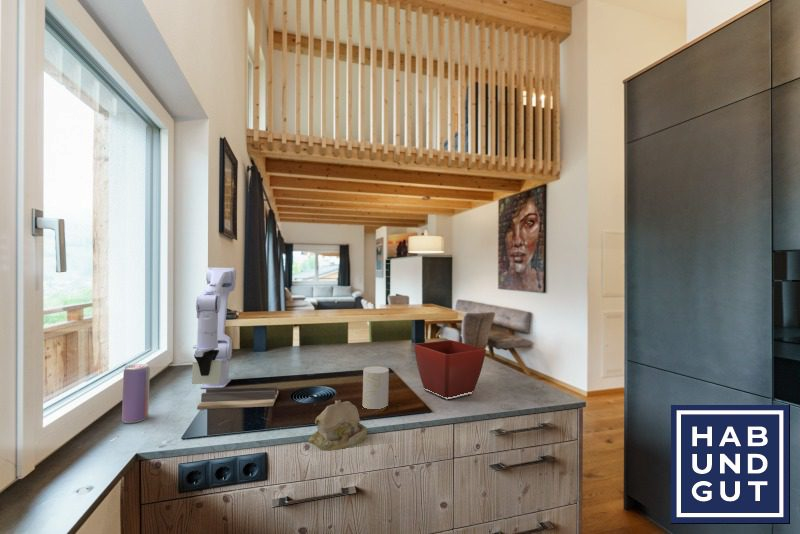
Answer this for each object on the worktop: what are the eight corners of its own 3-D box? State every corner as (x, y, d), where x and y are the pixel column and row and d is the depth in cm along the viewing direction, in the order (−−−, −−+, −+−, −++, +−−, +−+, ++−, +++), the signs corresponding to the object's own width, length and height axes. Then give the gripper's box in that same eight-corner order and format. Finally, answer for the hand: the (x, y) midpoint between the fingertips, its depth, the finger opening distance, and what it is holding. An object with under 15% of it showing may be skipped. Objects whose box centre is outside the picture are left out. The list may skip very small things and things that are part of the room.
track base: (210, 395, 121) (210, 385, 121) (278, 393, 125) (278, 383, 125) (197, 409, 109) (197, 397, 109) (272, 406, 113) (273, 394, 113)
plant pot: (486, 396, 127) (487, 348, 128) (446, 406, 117) (447, 354, 117) (450, 381, 143) (451, 339, 144) (411, 389, 132) (412, 344, 133)
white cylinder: (357, 407, 114) (358, 369, 114) (375, 401, 120) (376, 365, 120) (374, 414, 108) (375, 374, 109) (393, 407, 114) (394, 369, 114)
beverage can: (134, 425, 97) (136, 369, 97) (116, 422, 98) (118, 367, 99) (153, 416, 103) (155, 364, 103) (136, 414, 104) (138, 362, 104)
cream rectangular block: (194, 382, 115) (194, 360, 116) (220, 381, 117) (221, 360, 117) (191, 384, 114) (192, 361, 114) (218, 383, 115) (219, 361, 115)
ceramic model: (319, 456, 84) (320, 412, 84) (303, 437, 93) (305, 398, 93) (372, 441, 91) (373, 402, 91) (353, 425, 101) (354, 389, 101)
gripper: (202, 328, 122) (201, 368, 122) (184, 336, 108) (183, 381, 107) (224, 328, 123) (223, 368, 123) (209, 335, 109) (208, 380, 109)
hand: (206, 374), depth 115 cm, fingers closed on cream rectangular block, 2 cm apart
